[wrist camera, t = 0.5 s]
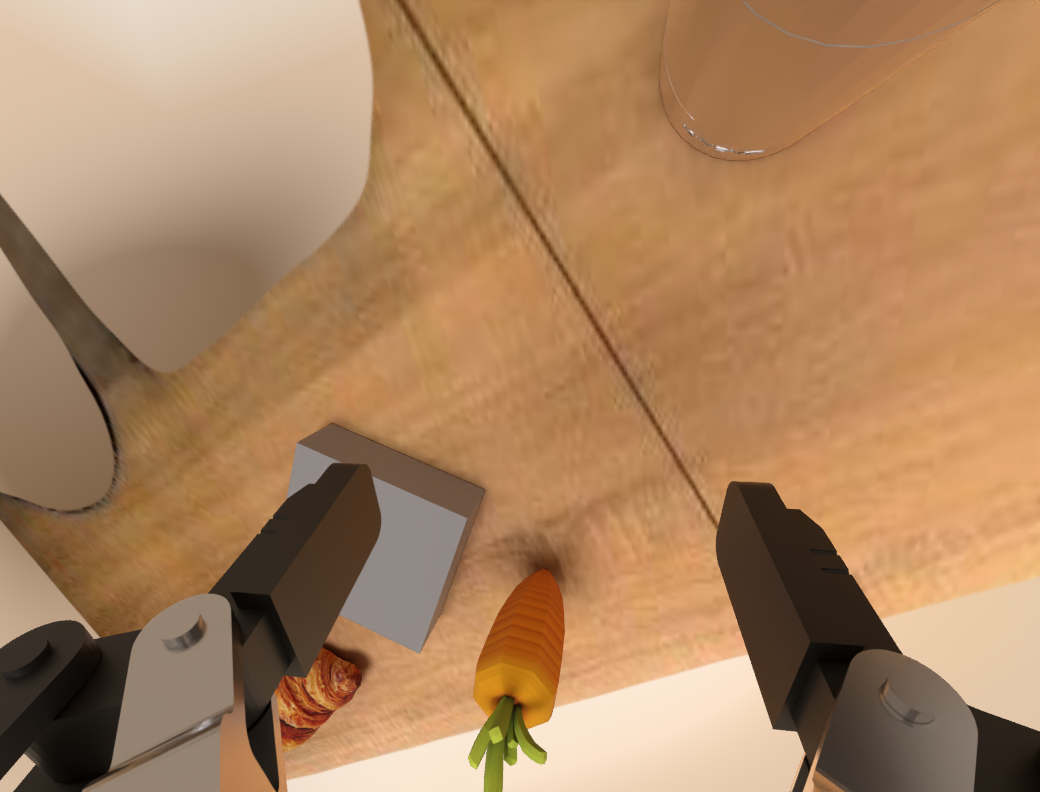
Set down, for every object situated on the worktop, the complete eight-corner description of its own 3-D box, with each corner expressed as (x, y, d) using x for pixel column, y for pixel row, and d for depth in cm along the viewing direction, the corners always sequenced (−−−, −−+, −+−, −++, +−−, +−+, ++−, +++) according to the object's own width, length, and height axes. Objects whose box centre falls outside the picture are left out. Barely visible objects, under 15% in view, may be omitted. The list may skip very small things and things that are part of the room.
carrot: (534, 531, 34) (467, 721, 20) (591, 567, 34) (564, 786, 20) (502, 575, 36) (421, 778, 22) (556, 610, 36) (509, 838, 22)
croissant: (257, 683, 52) (223, 773, 46) (174, 655, 46) (124, 754, 41) (401, 650, 45) (382, 751, 39) (324, 613, 39) (289, 725, 33)
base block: (331, 423, 35) (296, 442, 32) (485, 489, 34) (467, 518, 30) (305, 551, 40) (272, 582, 36) (440, 615, 38) (419, 653, 35)
